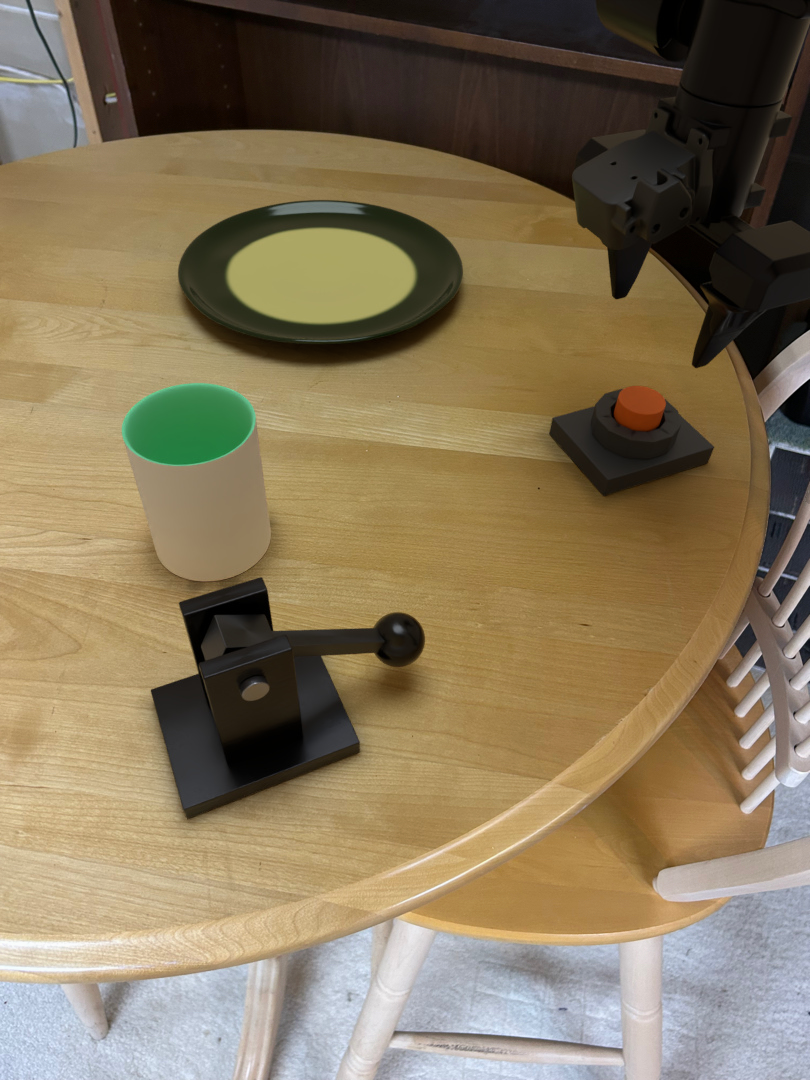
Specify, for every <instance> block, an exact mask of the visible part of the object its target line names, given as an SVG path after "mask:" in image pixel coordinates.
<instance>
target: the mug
mask: <svg viewBox="0 0 810 1080" xmlns="http://www.w3.org/2000/svg"><path fill="white" fill-rule="evenodd" d="M121 437H122V440H123V444H124V447H125V450H126V453H127V457H128V461H129V464H130V467H131V470H132V474H133V477H134V481H135V485H136V488H137V492H138V495H139V498H140V502H141V505H142V508H143V512H144V516H145V519H146V522H147V526H148V530H149V533H150V536H151V540H152V543H153V547H154V550H155V553H156V556H157V558H158V560H159V562H160V563H161V564H162V566H163V567H164V568H165V569H166V570H168V571H169V572H170V573H171V574H173V575H176V576H177V577H180V578H182V579H185V580H189V581H195V582H217V581H222V580H226V579H230V578H233V577H236V576H239V575H241V574H243V573H245V572H246V571H249V570H250V569H251V568H253V567H254V566H255V565H256V564H257V563H259V562H260V560H262V558H263V557H264V555H265V554H266V552H267V551H268V549H269V547H270V544H271V540H272V529H271V522H270V514H269V513H270V512H269V507H268V500H267V492H266V485H265V476H264V469H263V462H262V455H261V445H260V438H259V431H258V424H257V416H256V411H255V408H254V406H253V405H252V403H251V402H250V400H249V399H248V398H246V397H245V396H244V395H243V394H241V393H240V392H238V391H236V390H234V389H232V388H229V387H227V386H223V385H219V384H215V383H206V382H190V383H181V384H175V385H171V386H168V387H165V388H162V389H159V390H156V391H154V392H152V393H150V394H147V395H146V396H144V397H143V398H142V399H140V400H139V401H138V402H136V403H135V404H134V405H133V406H132V407H131V408H129V411H128V412H127V413H126V414H125V416H124V419H123V421H122V424H121Z"/></svg>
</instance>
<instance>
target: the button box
mask: <svg viewBox="0 0 810 1080" xmlns="http://www.w3.org/2000/svg"><path fill="white" fill-rule="evenodd" d="M623 389H624V388H620V389H616V390H612V391H609V392H606V393H604V394H603V395H602V396H601V397H600V398H599V399H598V400H597V401H596V402H595V404H594V406H590V407H586V408H583V409H579V410H576V411H572V412H568V413H564V414H561V415H558V416H553V417H552V418H551V423H550V428H549V435H550V437H551V438H552V439H553V440H554V441H555V442H556V444H557V445H558V446H559V447H560V449H562V450H563V451H564V452H565V454H566V455H567V456H568V457H569V458H570V460H572V462H573V463H574V464H575V466H577V468H578V469H579V470H580V471H581V472H582V473H583V474H584V475H585V476H586V478H587V479H588V480H589V482H591V484H592V485H593V486H594V487H595V488H596V490H598V491H599V493H600V494H601V495H602V497H603V496H607V495H611V494H614V493H618V492H621V491H624V490H627V489H630V488H634V487H636V486H640V485H644V484H646V483H649V482H653V481H656V480H658V479H662V478H665V477H668V476H671V475H674V474H677V473H681V472H684V471H688V470H691V469H693V468H697V467H699V466H703V465H706V464H709V461H710V460H711V457H712V454H713V452H714V449H715V446H714V445H713V444H712V443H711V442H710V441H709V440H707V438H705V436H703V434H701V433H700V432H699V431H698V429H696V428H695V427H694V426H693V425H691V423H690V422H688V420H686V418H684V417H683V416H682V415H681V414H680V413H679V410H678V409H677V408H676V407H674V405H672V403H670V401H668V400H667V399H666V398H664V399H665V401H666V406H665V409H664V412H663V415H662V418H661V421H660V424H659V426H658V427H657V428H655V429H654V430H651V431H648V432H644V431H633V430H631V429H629V428H626V427H624V426H622V425H620V424H619V423H618V422H617V421H616V420H615V418H614V410H615V406H616V403H617V399H618V395H619V393H620V392H621V391H622V390H623Z"/></svg>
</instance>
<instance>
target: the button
mask: <svg viewBox="0 0 810 1080" xmlns="http://www.w3.org/2000/svg"><path fill="white" fill-rule="evenodd" d="M622 389H623V390H622V391H621V392H620V393H619V395H618V399H617V403H616V406H615V410H614V418H615V420H616V421H617V422H618V423H619V424H620V425H622V426H624V427H626V428H629V429H631V430H633V431H644V432H648V431H651V430H654V429H655V428H657V427H658V426H659V424H660V421H661V418H662V415H663V412H664V409H665V406H666V401H665V399H666V398H665V397H664V395H663V394H661V393H660V392H659V391H657V390H655V389H653V388H651V387H648V386H643V385H630V386H627V387H625V388H622Z"/></svg>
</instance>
